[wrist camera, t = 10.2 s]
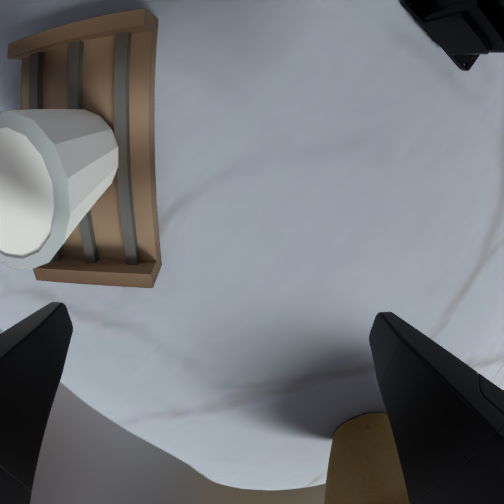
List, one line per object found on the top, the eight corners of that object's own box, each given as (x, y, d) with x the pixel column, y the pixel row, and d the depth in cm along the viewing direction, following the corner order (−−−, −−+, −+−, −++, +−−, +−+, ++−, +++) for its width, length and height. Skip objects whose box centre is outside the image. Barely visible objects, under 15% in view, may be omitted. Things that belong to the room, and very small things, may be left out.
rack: (33, 46, 13) (8, 44, 10) (158, 19, 13) (145, 8, 11) (53, 260, 20) (36, 280, 18) (161, 264, 21) (152, 288, 19)
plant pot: (303, 459, 37) (317, 556, 23) (308, 407, 30) (332, 546, 16) (399, 438, 37) (427, 525, 23) (430, 380, 30) (480, 492, 16)
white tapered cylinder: (46, 218, 17) (-16, 275, 11) (24, 116, 14) (-56, 140, 8) (139, 203, 17) (90, 265, 11) (120, 85, 14) (49, 85, 8)
